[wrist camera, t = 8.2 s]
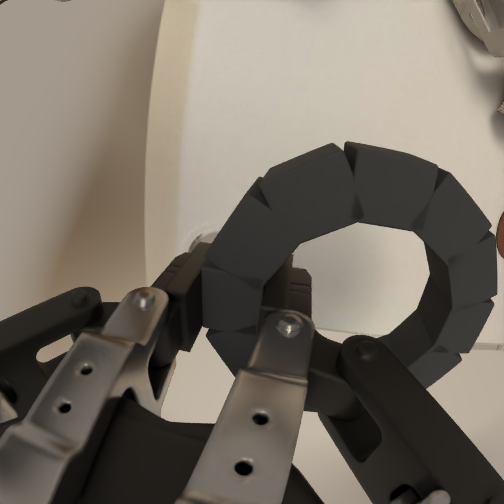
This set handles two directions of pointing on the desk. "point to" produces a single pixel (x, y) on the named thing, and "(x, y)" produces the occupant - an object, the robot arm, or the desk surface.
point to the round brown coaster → (500, 235)
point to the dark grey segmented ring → (344, 214)
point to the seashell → (501, 108)
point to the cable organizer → (485, 22)
